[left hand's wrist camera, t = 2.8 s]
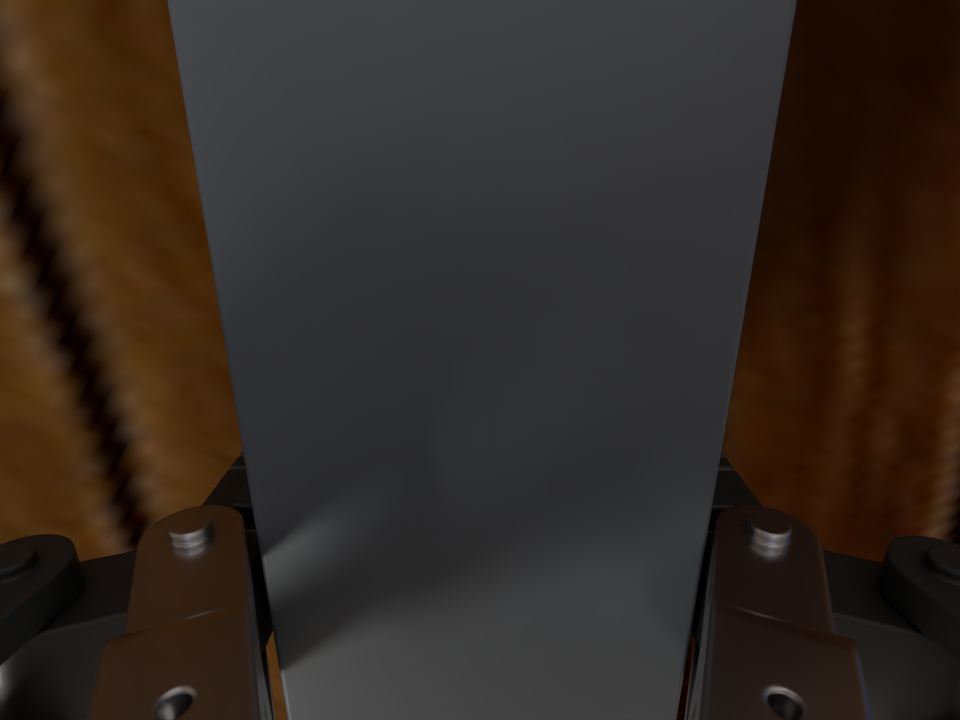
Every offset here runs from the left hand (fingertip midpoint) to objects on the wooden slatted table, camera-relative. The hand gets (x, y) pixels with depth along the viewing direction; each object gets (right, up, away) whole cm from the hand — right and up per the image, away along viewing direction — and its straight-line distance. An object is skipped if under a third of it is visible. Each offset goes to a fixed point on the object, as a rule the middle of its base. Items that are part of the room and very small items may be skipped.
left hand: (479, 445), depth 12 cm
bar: (0, +11, +1) cm, 11 cm away
